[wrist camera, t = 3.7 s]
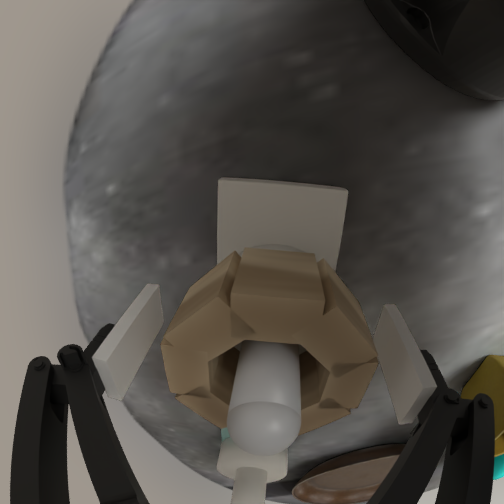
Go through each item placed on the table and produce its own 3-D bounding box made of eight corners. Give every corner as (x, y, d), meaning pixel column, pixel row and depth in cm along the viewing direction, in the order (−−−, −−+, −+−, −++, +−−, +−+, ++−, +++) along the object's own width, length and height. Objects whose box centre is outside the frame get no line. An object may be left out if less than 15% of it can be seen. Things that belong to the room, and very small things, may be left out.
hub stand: (221, 404, 24) (195, 515, 14) (298, 411, 24) (297, 524, 13) (223, 462, 30) (209, 537, 19) (279, 467, 29) (274, 543, 19)
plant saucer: (360, 494, 35) (361, 509, 32) (263, 479, 32) (261, 498, 29) (456, 440, 27) (462, 457, 24) (371, 418, 24) (377, 444, 21)
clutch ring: (184, 242, 14) (151, 283, 10) (373, 258, 13) (401, 304, 9) (194, 373, 17) (177, 422, 14) (334, 386, 17) (341, 437, 13)
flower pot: (438, 401, 23) (462, 467, 14) (485, 337, 19) (529, 405, 11) (485, 398, 23) (509, 452, 14) (526, 342, 19) (563, 395, 11)
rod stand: (220, 177, 16) (116, 263, 6) (346, 188, 16) (446, 291, 5) (219, 360, 22) (185, 491, 11) (310, 368, 21) (316, 503, 11)
